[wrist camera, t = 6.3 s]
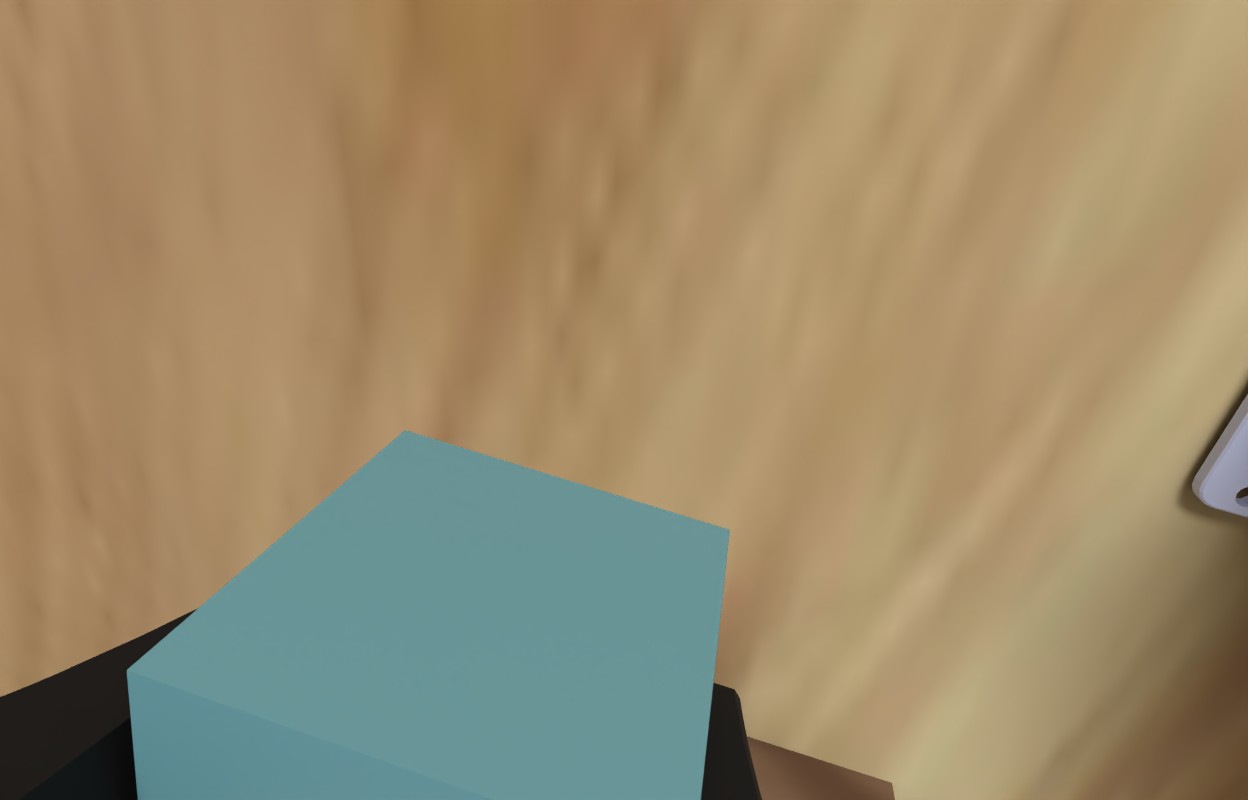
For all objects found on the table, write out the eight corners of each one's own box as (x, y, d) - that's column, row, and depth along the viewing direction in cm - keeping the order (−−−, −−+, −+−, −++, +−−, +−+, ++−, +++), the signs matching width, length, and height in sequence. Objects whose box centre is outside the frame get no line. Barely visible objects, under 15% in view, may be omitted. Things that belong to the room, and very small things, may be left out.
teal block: (729, 529, 10) (692, 869, 6) (647, 766, 12) (571, 1155, 8) (404, 430, 11) (126, 670, 6) (378, 674, 13) (154, 990, 8)
